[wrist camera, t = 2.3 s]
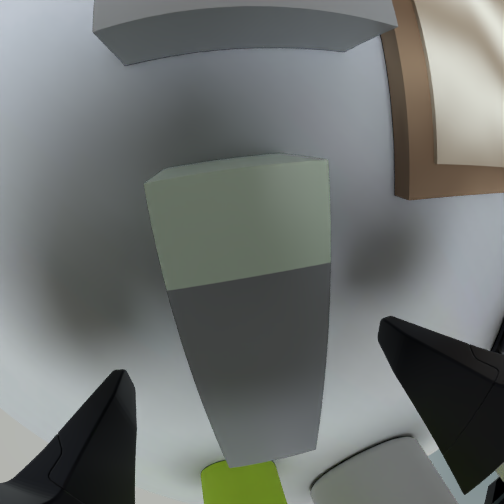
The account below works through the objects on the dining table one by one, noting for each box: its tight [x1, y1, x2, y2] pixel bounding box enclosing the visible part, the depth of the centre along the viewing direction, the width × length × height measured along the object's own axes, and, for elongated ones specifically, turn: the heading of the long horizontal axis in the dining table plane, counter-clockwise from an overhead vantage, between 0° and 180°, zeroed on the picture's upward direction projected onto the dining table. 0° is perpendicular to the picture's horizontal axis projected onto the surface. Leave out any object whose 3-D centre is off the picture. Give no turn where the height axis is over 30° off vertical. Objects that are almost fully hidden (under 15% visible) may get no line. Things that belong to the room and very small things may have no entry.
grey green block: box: [144, 153, 331, 468], centre depth 10 cm, size 12×4×4 cm, turn 6°
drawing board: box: [381, 0, 504, 200], centre depth 8 cm, size 16×14×1 cm
